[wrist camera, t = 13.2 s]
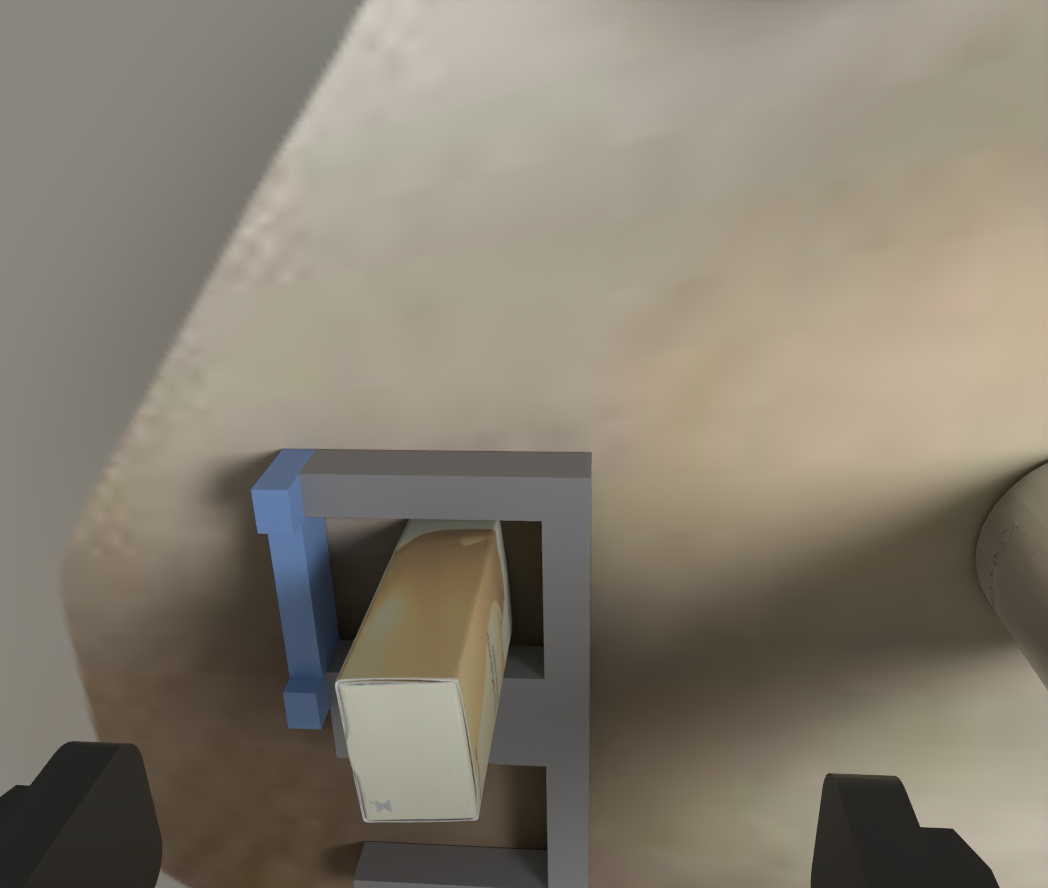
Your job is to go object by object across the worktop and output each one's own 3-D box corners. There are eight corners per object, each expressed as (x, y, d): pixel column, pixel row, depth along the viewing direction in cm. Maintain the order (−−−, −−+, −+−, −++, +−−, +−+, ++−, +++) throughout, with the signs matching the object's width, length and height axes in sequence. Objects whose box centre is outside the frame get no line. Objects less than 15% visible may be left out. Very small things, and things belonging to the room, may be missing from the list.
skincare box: (515, 627, 44) (483, 831, 32) (424, 630, 44) (362, 832, 33) (500, 505, 41) (461, 680, 30) (404, 510, 42) (330, 684, 30)
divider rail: (591, 452, 40) (589, 494, 36) (589, 880, 50) (587, 947, 46) (282, 449, 41) (250, 489, 37) (340, 867, 51) (320, 932, 47)
